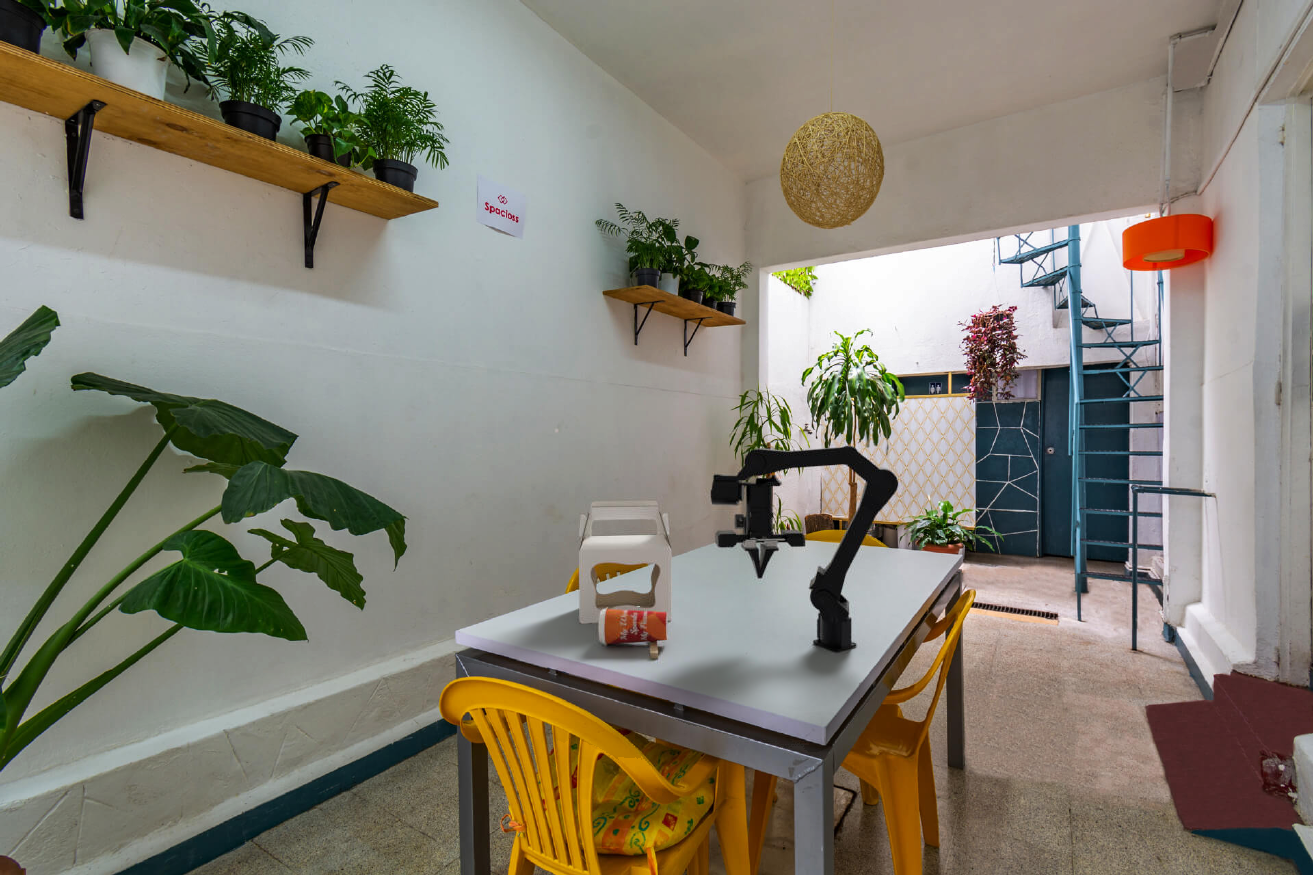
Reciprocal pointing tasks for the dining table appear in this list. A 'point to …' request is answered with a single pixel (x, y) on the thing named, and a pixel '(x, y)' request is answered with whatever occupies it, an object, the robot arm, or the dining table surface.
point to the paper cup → (632, 626)
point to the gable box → (624, 559)
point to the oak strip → (653, 650)
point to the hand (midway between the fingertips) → (759, 578)
